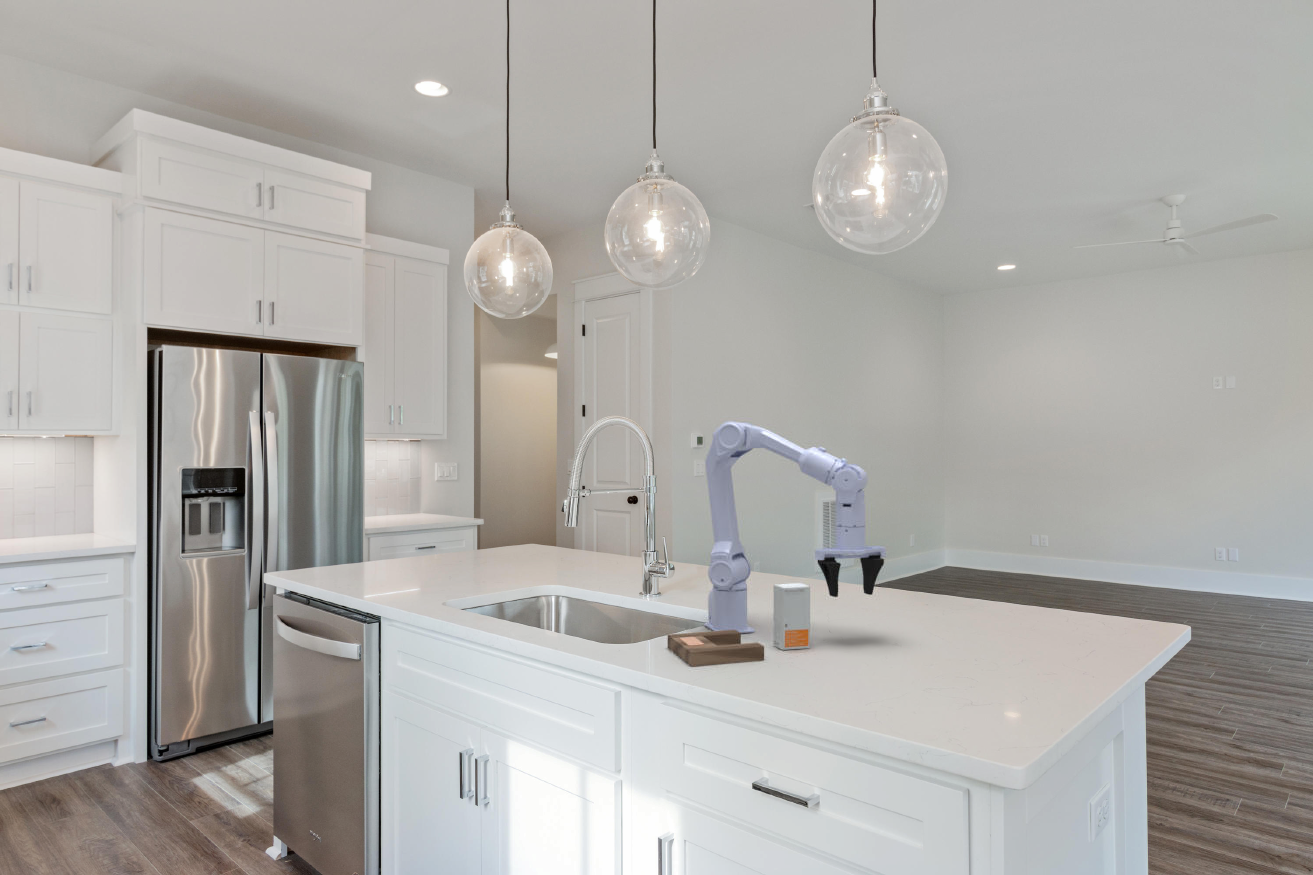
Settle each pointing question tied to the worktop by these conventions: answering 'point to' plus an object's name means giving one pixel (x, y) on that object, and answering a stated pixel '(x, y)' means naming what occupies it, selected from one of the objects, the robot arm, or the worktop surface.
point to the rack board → (714, 648)
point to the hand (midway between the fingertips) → (851, 594)
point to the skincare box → (792, 616)
